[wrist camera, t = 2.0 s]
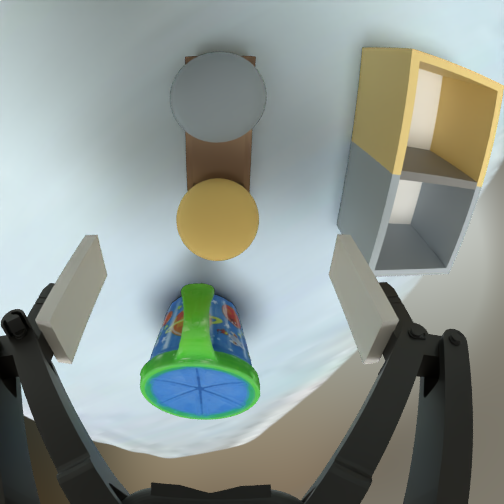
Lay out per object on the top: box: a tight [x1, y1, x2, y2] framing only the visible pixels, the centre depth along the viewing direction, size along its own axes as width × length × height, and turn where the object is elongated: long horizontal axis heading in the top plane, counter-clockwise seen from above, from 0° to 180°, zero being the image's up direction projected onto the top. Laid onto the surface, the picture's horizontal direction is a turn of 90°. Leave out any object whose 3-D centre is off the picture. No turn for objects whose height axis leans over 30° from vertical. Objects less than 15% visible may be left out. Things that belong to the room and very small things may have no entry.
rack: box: [185, 56, 256, 192], centre depth 21 cm, size 12×4×5 cm, turn 177°
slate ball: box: [170, 52, 266, 143], centre depth 15 cm, size 5×5×5 cm
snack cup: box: [140, 283, 260, 419], centre depth 29 cm, size 16×10×10 cm
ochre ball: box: [176, 178, 259, 261], centre depth 19 cm, size 5×5×5 cm
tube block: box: [337, 47, 504, 277], centre depth 21 cm, size 16×8×8 cm, turn 177°
